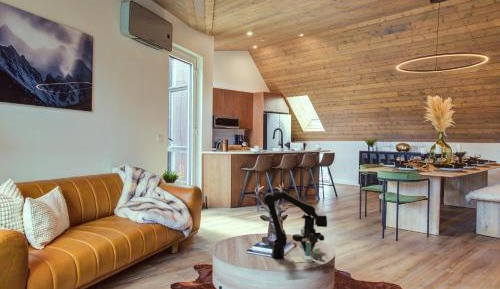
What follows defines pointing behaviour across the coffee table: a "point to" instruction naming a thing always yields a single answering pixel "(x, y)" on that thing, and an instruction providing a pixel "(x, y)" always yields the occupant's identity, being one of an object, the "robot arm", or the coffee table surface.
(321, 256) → the frame
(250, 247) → the coffee table surface
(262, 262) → the coffee table surface
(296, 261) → the colouring sheet
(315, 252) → the button
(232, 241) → the coffee table surface
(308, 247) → the teal marker
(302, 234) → the small box
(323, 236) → the robot arm
